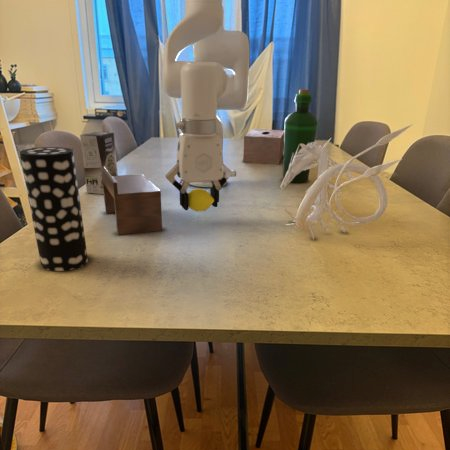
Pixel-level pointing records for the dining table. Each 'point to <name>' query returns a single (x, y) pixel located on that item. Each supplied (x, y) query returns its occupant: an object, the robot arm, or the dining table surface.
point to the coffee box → (98, 158)
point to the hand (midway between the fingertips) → (199, 206)
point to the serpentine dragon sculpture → (320, 186)
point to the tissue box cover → (263, 146)
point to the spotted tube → (55, 207)
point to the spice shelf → (132, 202)
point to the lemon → (199, 200)
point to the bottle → (299, 132)
